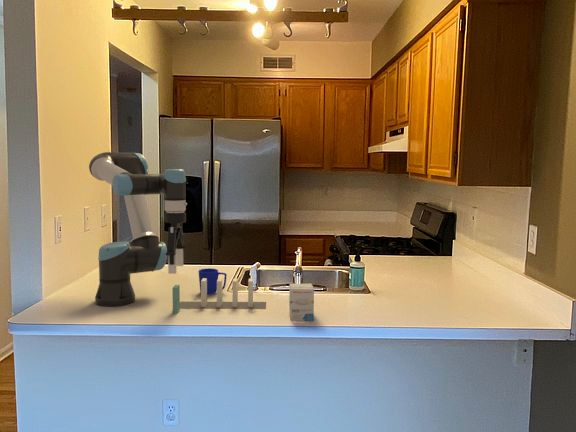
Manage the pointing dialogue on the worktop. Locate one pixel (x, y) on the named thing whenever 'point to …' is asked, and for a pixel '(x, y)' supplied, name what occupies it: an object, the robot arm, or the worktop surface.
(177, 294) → the green domino
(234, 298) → the domino
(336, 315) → the worktop surface
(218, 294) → the domino
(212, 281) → the mug
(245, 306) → the mat
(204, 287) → the domino
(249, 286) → the domino
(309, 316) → the ink box
